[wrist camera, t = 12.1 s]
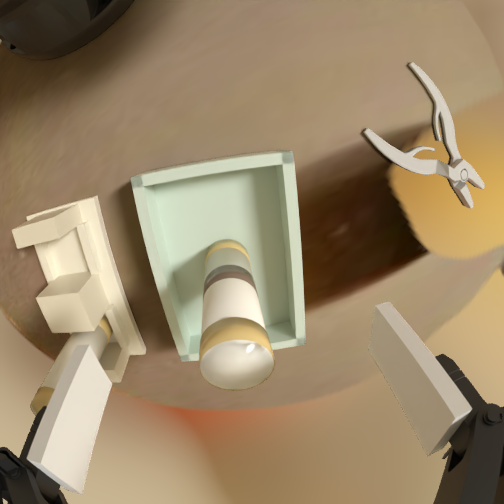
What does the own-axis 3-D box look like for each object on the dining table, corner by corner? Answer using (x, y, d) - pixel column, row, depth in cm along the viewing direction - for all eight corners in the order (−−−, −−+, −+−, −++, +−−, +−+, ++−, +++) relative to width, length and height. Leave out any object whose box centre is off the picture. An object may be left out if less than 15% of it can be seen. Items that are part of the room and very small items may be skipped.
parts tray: (143, 171, 21) (130, 177, 18) (282, 149, 22) (292, 151, 18) (185, 338, 27) (181, 361, 24) (296, 321, 28) (305, 343, 24)
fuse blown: (201, 242, 23) (190, 344, 12) (245, 235, 23) (271, 332, 12) (209, 281, 24) (208, 394, 13) (251, 274, 24) (277, 384, 13)
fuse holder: (30, 214, 21) (-1, 231, 16) (97, 195, 21) (69, 209, 17) (84, 352, 27) (69, 382, 22) (146, 349, 27) (136, 383, 23)
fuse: (76, 312, 24) (22, 399, 13) (105, 309, 24) (55, 404, 13) (89, 340, 25) (47, 429, 14) (117, 338, 26) (80, 435, 15)
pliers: (418, 58, 18) (495, 164, 22) (409, 61, 19) (486, 162, 24) (368, 134, 20) (458, 233, 25) (359, 134, 22) (449, 228, 26)
